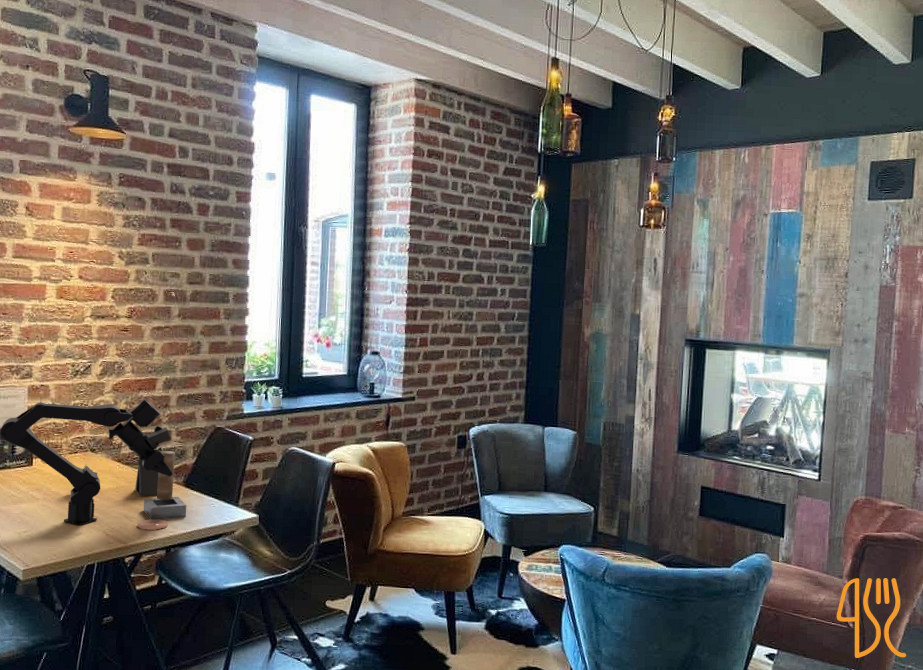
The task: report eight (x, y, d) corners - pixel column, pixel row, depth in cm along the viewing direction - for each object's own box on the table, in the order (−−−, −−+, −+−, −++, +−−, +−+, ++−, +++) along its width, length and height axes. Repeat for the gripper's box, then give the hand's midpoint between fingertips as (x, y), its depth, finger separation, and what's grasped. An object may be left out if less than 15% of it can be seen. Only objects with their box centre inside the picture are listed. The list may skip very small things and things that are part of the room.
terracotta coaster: (152, 532, 227) (153, 529, 227) (130, 526, 230) (131, 524, 230) (174, 524, 235) (174, 522, 234) (152, 519, 238) (152, 517, 238)
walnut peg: (163, 500, 238) (166, 455, 237) (153, 497, 240) (156, 452, 240) (175, 497, 242) (178, 453, 241) (165, 495, 244) (168, 450, 243)
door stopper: (135, 489, 268) (136, 455, 267) (153, 488, 271) (155, 454, 270) (140, 496, 260) (142, 461, 260) (159, 495, 264) (161, 460, 263)
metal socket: (151, 519, 238) (151, 508, 237) (143, 510, 246) (144, 499, 246) (185, 516, 243) (186, 505, 243) (177, 507, 252) (177, 496, 252)
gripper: (158, 425, 230) (195, 461, 235) (152, 413, 246) (187, 448, 252) (127, 452, 227) (165, 488, 232) (124, 438, 243) (160, 473, 249)
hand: (170, 473), depth 241 cm, fingers closed on walnut peg, 4 cm apart
